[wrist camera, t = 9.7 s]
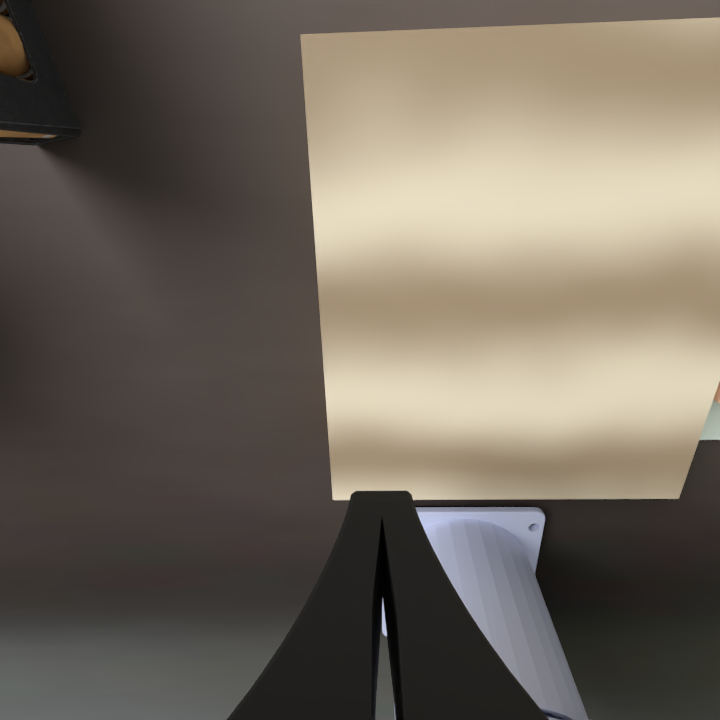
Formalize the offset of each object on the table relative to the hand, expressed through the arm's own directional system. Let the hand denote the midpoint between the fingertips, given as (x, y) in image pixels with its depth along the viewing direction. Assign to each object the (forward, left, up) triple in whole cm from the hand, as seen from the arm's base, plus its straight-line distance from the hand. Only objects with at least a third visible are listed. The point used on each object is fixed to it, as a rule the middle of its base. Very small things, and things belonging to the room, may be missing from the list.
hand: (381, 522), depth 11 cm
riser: (+3, -5, -9) cm, 11 cm away
